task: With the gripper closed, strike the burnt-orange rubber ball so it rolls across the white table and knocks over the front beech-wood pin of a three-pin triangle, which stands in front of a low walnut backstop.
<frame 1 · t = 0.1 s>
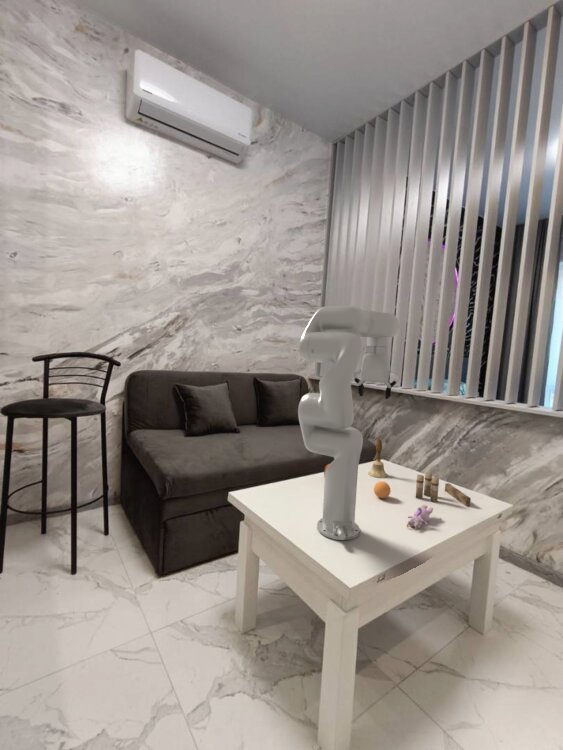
hand: (374, 397, 132), 37 cm above the table, tool pointing down, fingers open, 9 cm apart
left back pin: (433, 500, 131), on the table
backstop: (456, 498, 134), on the table
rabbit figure: (420, 523, 114), on the table
right back pin: (427, 495, 136), on the table
hand bell: (377, 475, 157), on the table
fruit: (333, 481, 147), on the table
ball: (382, 489, 132), on the table
front pin: (418, 497, 133), on the table
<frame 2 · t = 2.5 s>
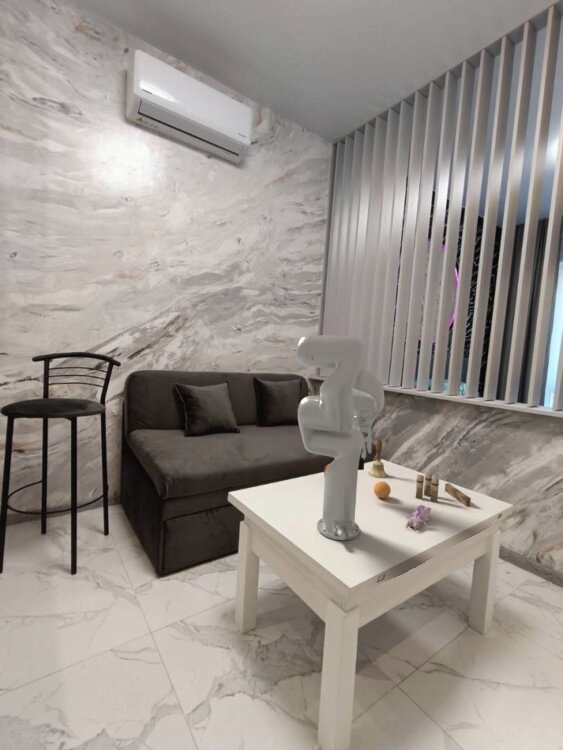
hand: (358, 469, 131), 11 cm above the table, tool pointing down, fingers closed
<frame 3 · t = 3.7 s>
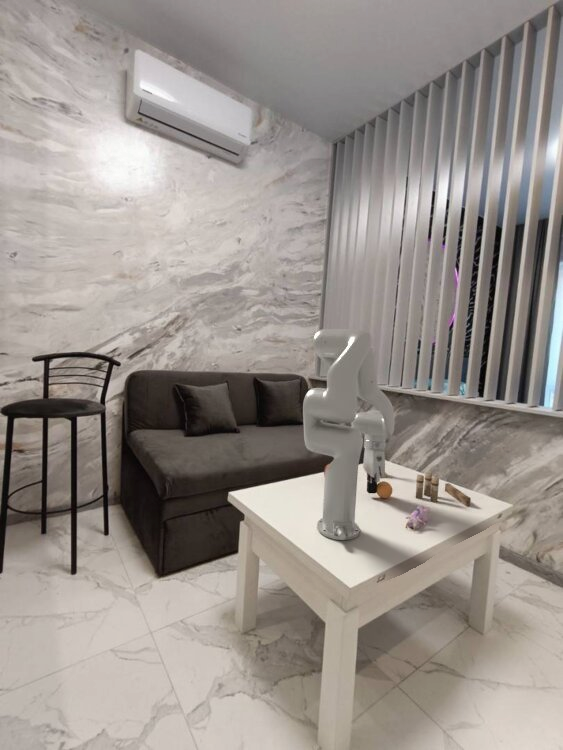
hand: (371, 492, 132), 2 cm above the table, tool pointing down, fingers closed
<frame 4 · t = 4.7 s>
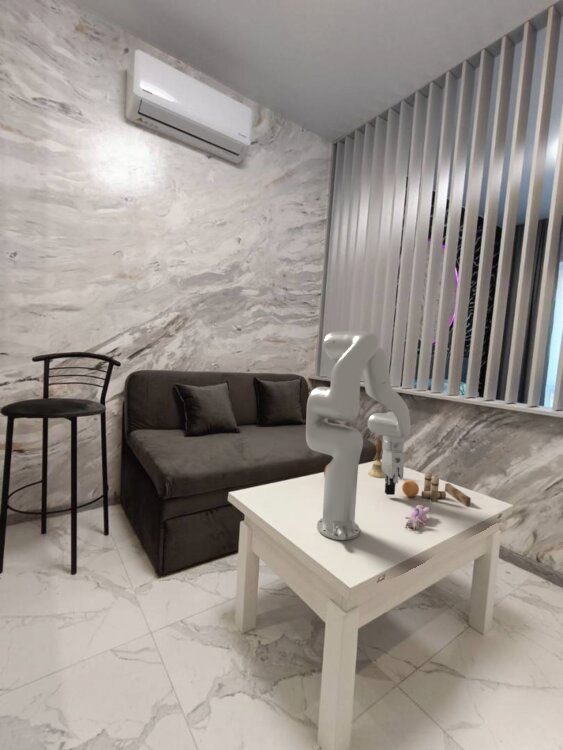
hand: (389, 493, 132), 2 cm above the table, tool pointing down, fingers closed
ball: (410, 488, 134), on the table
front pin: (422, 494, 133), point 1 cm above the table, tilted 90°
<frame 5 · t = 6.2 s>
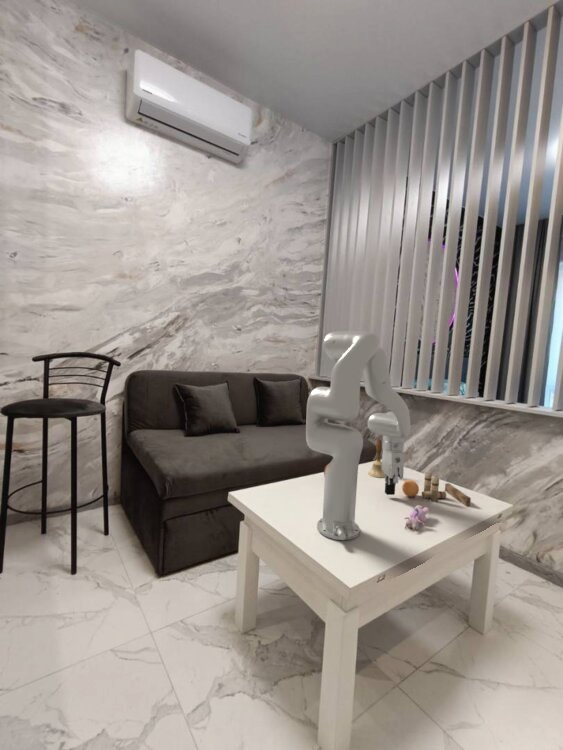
hand: (389, 493, 132), 2 cm above the table, tool pointing down, fingers closed
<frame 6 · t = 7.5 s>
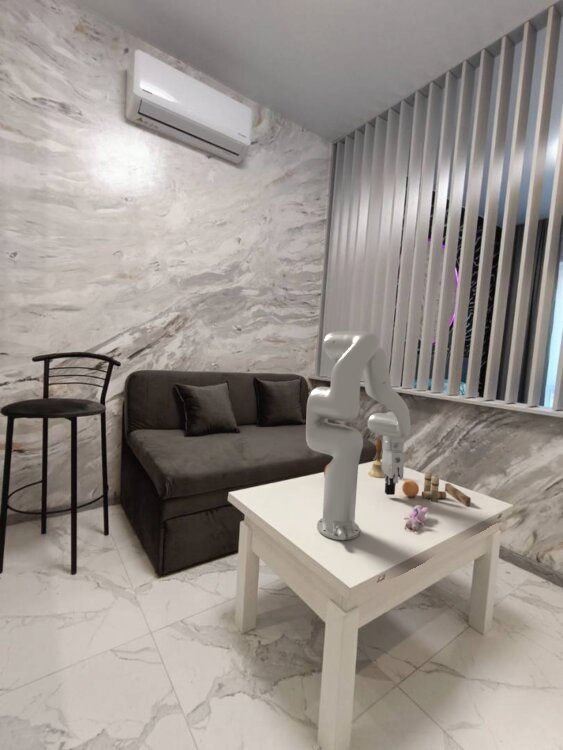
hand: (389, 493, 132), 2 cm above the table, tool pointing down, fingers closed
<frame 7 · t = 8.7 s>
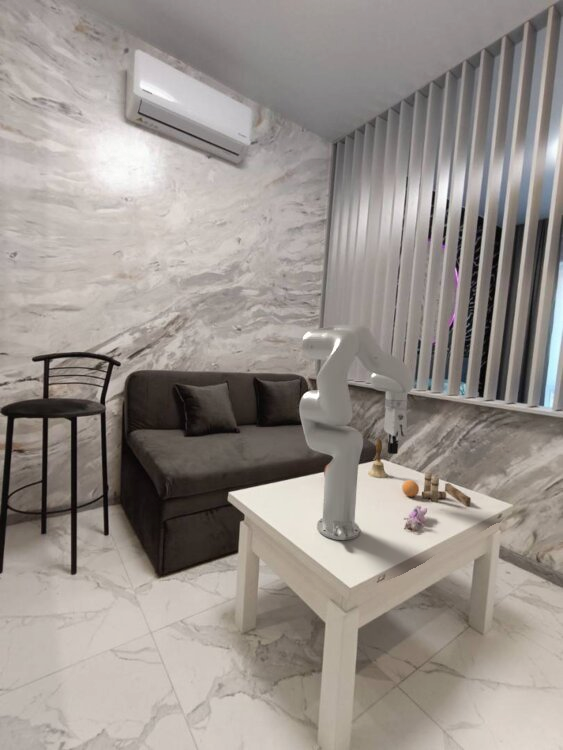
hand: (392, 453, 131), 17 cm above the table, tool pointing down, fingers closed
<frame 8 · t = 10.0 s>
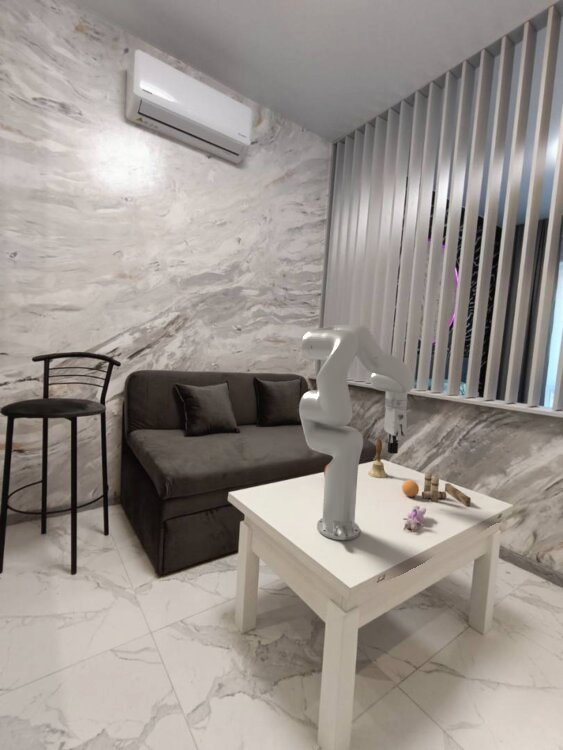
hand: (392, 452, 131), 17 cm above the table, tool pointing down, fingers closed
at the end: front pin tilted 90°; front pin never touched the robot; ball moved 11.7 cm from its start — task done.
